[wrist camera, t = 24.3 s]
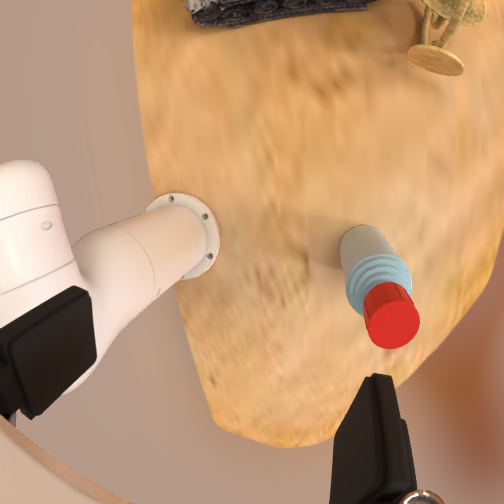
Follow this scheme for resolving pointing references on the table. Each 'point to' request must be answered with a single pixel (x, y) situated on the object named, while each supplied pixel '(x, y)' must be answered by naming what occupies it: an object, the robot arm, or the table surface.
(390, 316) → the cap
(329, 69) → the table surface
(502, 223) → the table surface
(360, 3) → the tank
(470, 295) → the table surface
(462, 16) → the wall sconce
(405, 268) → the bottle
